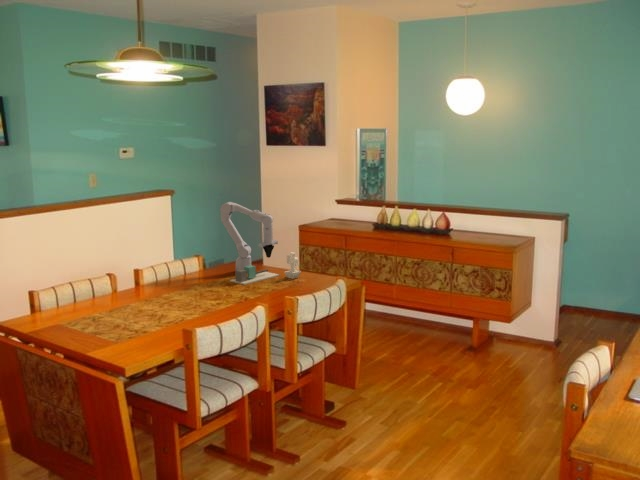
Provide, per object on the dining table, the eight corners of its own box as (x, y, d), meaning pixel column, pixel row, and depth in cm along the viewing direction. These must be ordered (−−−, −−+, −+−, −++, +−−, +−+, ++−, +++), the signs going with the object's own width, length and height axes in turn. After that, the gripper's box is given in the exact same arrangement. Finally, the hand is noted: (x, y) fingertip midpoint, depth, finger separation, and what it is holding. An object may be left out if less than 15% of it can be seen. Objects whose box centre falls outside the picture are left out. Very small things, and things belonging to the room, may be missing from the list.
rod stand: (230, 281, 365) (229, 269, 364) (265, 272, 386) (265, 261, 385) (244, 284, 357) (244, 273, 356) (279, 275, 378) (279, 264, 377)
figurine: (302, 276, 376) (302, 251, 373) (293, 280, 368) (292, 254, 365) (292, 275, 380) (292, 250, 377) (283, 278, 372) (282, 253, 369)
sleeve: (244, 277, 368) (243, 266, 367) (250, 275, 372) (250, 265, 370) (249, 278, 365) (249, 267, 364) (255, 277, 369) (255, 266, 368)
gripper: (264, 237, 375) (264, 260, 377) (281, 234, 385) (281, 256, 388) (255, 236, 379) (256, 258, 382) (273, 232, 390) (273, 254, 392)
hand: (268, 257), depth 385 cm, fingers closed
